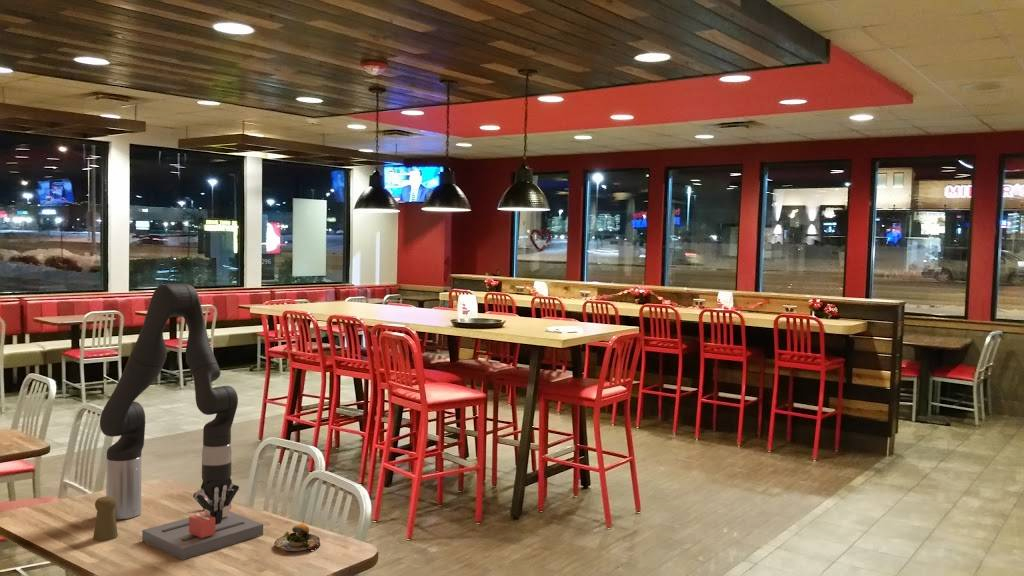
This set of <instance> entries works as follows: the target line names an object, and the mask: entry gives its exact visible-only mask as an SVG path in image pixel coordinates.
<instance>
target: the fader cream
mask: <svg viewBox="0 0 1024 576" xmlns="http://www.w3.org/2000/svg"><path fill="white" fill-rule="evenodd" d="M205 500H206V501H207V502H208V500H207V499H205ZM208 503H209V502H208ZM203 511H204V512H203V513H205V514H207V515H210V511H208V510H206V509H203ZM229 511H230V510H229V506H225V507H224V508H223V514H222V518H223V517H227V516H229Z"/></svg>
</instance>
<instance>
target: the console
mask: <svg viewBox="0 0 1024 576" xmlns="http://www.w3.org/2000/svg"><path fill="white" fill-rule="evenodd" d="M141 530H142V531H141V532H142V533H141V535H142V538H141V539H142V541H141V542H143V543H145V544H148V545H150V546H152V547H154V548H156V549H158V550H160V551H162V552H164V553H166V554H169V555H171V556H172V557H174V558H178V559H180V560H181V561H184V560H187V559H190V558H194V557H196V556H197V557H198V556H200V555H203V554H205V553H209V552H212V551H216V550H219V549H222V548H225V547H230V546H232V545H235V544H238V543H241V542H244V541H248V540H252V539H254V538H257V537H260V536H261V537H262V536H264V523H262V522H259V521H256V520H253V519H251V518H248V517H245V516H242V515H240V514H237V513H235V512H232V511H230V510H229V516H227V517H223V518H222V521H221V523H220V524H217V525H215V534H214V535H211V536H207V537H204V538H200V537H198V536H195V535H193V534H191V533H189V517H186V518H183V519H179V520H175V521H171V522H167V523H164V524H161V525H157V526H152V527H149V528H144V529H141Z"/></svg>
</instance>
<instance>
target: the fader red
mask: <svg viewBox="0 0 1024 576" xmlns="http://www.w3.org/2000/svg"><path fill="white" fill-rule="evenodd" d="M188 518H189V533H191V534H193V535H195V536H198V537H200V538H204V537H207V536H211V535H214V534H215V517H212V516H210V515H207V514H205V513H204V512H201V513H195V514H194V515H190V516H188Z"/></svg>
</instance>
